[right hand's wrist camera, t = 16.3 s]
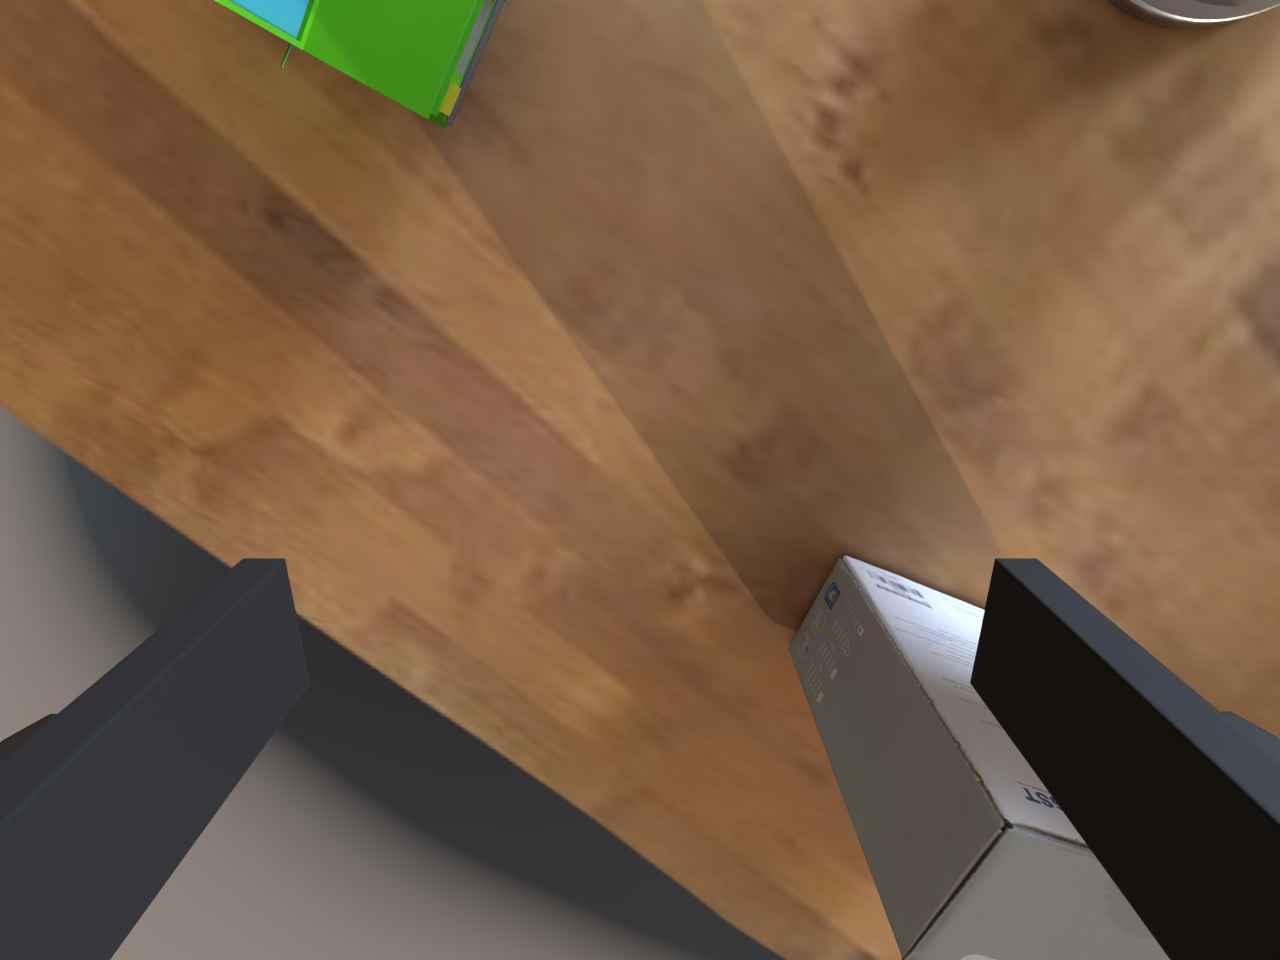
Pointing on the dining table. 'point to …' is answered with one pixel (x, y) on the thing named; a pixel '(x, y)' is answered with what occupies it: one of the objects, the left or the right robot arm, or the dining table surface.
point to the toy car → (388, 43)
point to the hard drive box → (947, 785)
